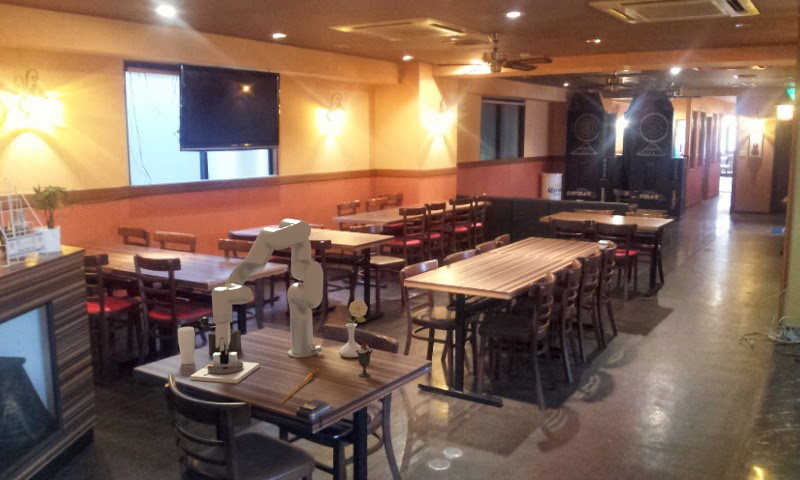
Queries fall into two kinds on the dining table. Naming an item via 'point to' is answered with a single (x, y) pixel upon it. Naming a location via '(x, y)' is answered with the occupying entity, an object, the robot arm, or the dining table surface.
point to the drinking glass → (186, 344)
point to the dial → (225, 368)
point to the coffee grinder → (234, 338)
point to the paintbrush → (302, 383)
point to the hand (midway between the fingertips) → (225, 361)
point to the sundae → (364, 358)
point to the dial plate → (227, 378)
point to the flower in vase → (356, 310)
